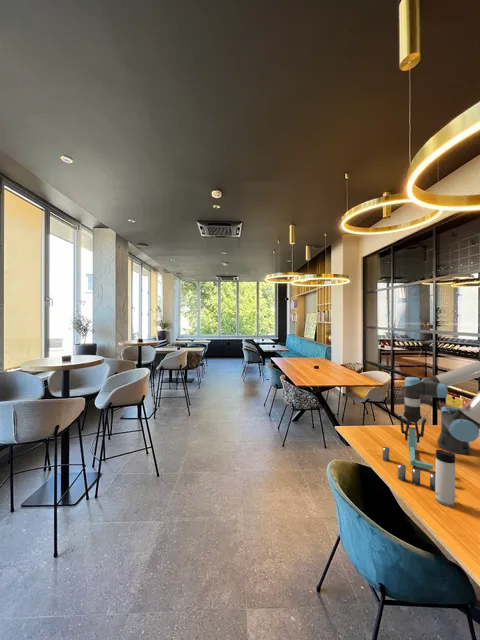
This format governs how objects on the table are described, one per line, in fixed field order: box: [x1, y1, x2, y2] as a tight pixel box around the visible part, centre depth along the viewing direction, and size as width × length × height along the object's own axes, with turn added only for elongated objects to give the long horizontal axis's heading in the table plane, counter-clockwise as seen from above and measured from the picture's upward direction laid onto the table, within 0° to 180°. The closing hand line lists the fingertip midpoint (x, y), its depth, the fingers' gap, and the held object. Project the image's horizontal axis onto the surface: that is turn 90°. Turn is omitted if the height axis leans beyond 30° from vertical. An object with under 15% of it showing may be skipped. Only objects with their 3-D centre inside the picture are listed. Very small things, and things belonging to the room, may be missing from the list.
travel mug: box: [434, 449, 456, 507], centre depth 110 cm, size 6×7×20 cm
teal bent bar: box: [408, 426, 434, 471], centre depth 144 cm, size 24×10×12 cm, turn 149°
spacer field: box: [382, 446, 436, 492], centre depth 130 cm, size 26×20×6 cm
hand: (412, 447), depth 155 cm, fingers closed on teal bent bar, 3 cm apart
